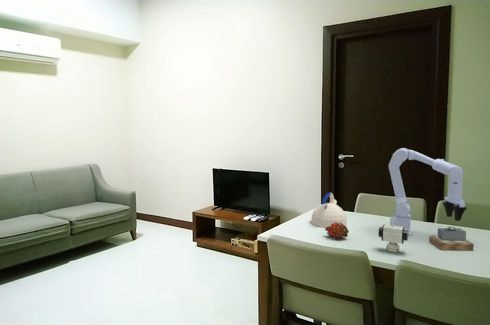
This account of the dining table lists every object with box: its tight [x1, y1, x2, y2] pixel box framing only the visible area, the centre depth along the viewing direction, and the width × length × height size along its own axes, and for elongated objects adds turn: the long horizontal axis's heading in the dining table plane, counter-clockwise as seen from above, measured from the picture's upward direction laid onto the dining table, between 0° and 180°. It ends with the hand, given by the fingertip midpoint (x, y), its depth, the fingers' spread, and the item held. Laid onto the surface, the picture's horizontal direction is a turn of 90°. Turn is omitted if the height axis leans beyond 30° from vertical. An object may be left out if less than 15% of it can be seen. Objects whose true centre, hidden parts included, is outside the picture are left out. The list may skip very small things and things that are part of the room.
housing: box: [437, 226, 467, 241], centre depth 159 cm, size 10×5×5 cm, turn 86°
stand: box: [428, 235, 475, 251], centre depth 159 cm, size 14×11×3 cm
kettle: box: [310, 192, 348, 228], centre depth 198 cm, size 20×21×18 cm
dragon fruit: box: [324, 222, 349, 240], centre depth 172 cm, size 8×8×12 cm
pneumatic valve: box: [378, 224, 409, 253], centre depth 153 cm, size 6×12×12 cm, turn 60°
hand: (453, 218), depth 168 cm, fingers open, 7 cm apart
